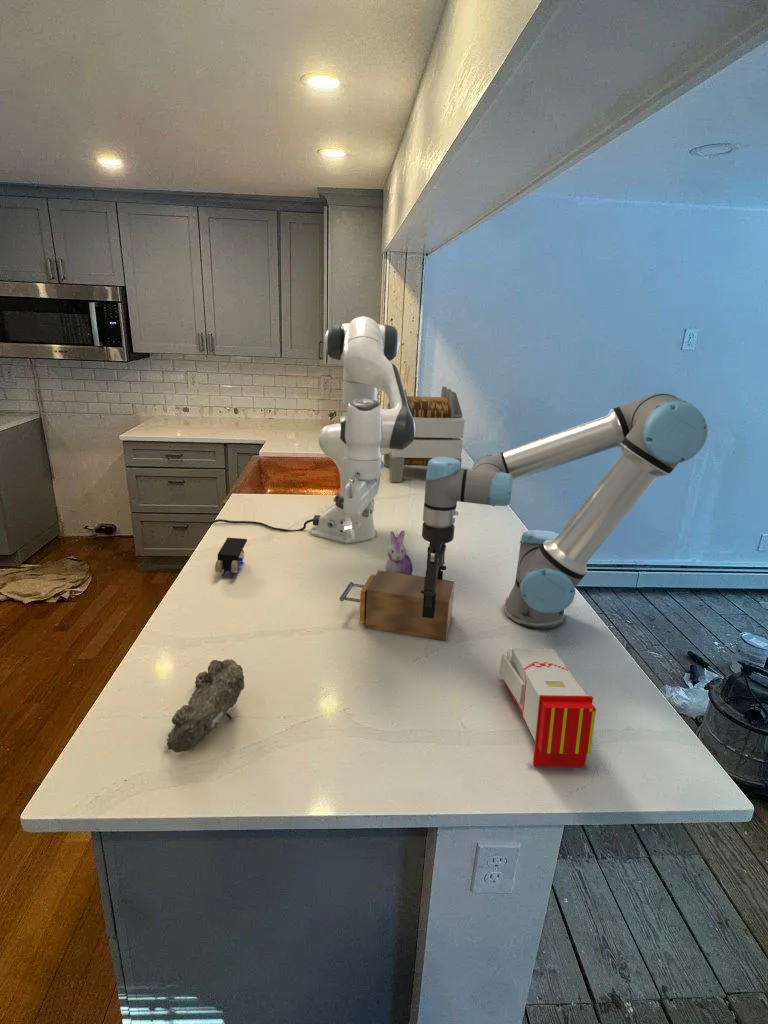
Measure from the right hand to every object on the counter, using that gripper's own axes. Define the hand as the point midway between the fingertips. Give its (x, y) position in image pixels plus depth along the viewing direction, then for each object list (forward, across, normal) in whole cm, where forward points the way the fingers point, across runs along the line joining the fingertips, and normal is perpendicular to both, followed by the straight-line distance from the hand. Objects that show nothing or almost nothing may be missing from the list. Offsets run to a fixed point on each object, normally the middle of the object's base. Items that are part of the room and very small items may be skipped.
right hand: (432, 605), depth 141 cm
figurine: (+6, +23, +13) cm, 27 cm away
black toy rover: (+6, +14, +61) cm, 63 cm away
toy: (+6, -27, -26) cm, 38 cm away
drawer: (+5, 0, +11) cm, 12 cm away
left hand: (-19, +2, +19) cm, 27 cm away
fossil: (+6, -45, +35) cm, 57 cm away
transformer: (+6, +138, +27) cm, 141 cm away
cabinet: (+6, 0, +5) cm, 8 cm away
